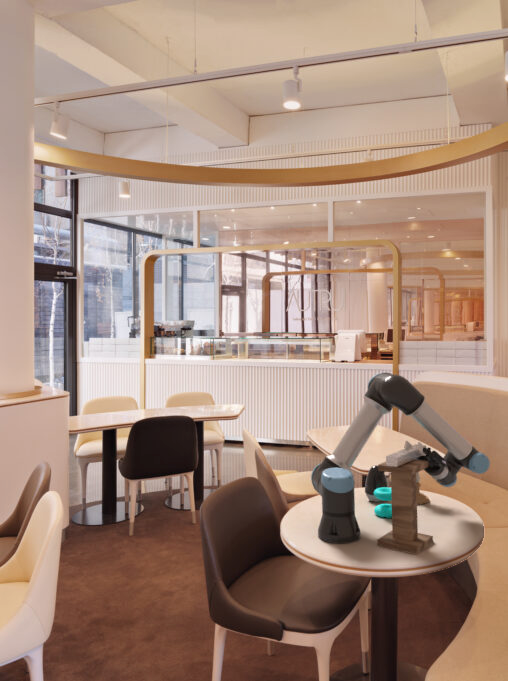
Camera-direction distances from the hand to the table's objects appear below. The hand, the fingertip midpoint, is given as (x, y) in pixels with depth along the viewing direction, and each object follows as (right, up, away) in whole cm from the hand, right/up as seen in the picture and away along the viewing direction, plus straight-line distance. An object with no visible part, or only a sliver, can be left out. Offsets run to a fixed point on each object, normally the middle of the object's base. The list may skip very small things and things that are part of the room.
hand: (412, 445), depth 203 cm
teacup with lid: (+2, -32, +57) cm, 65 cm away
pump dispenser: (-3, -32, +46) cm, 56 cm away
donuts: (-3, -33, +26) cm, 42 cm away
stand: (-4, -33, -5) cm, 34 cm away
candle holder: (+13, -32, +44) cm, 56 cm away
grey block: (-3, -4, -3) cm, 6 cm away
